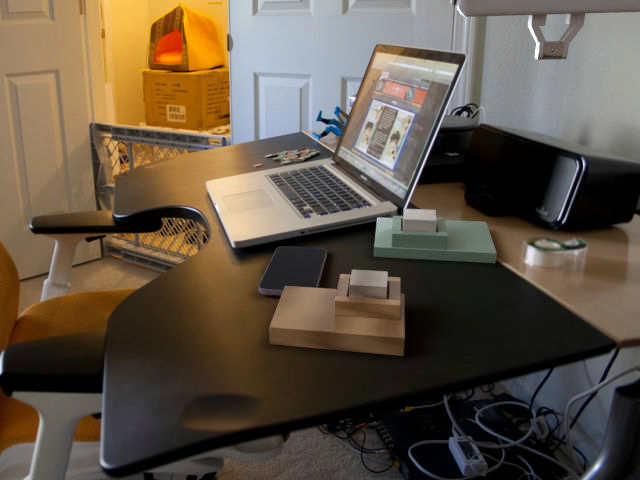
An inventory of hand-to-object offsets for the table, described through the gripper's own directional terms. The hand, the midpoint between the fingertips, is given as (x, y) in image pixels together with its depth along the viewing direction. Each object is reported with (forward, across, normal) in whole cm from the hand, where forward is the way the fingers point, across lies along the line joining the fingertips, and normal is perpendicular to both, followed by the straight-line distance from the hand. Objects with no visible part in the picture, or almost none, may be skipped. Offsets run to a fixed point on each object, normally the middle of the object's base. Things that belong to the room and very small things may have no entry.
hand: (550, 59), depth 69 cm
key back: (+24, +12, -10) cm, 29 cm away
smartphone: (+27, +28, +1) cm, 39 cm away
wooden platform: (+27, +21, +14) cm, 37 cm away
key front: (+24, +18, +12) cm, 32 cm away
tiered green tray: (+27, +10, -12) cm, 31 cm away
